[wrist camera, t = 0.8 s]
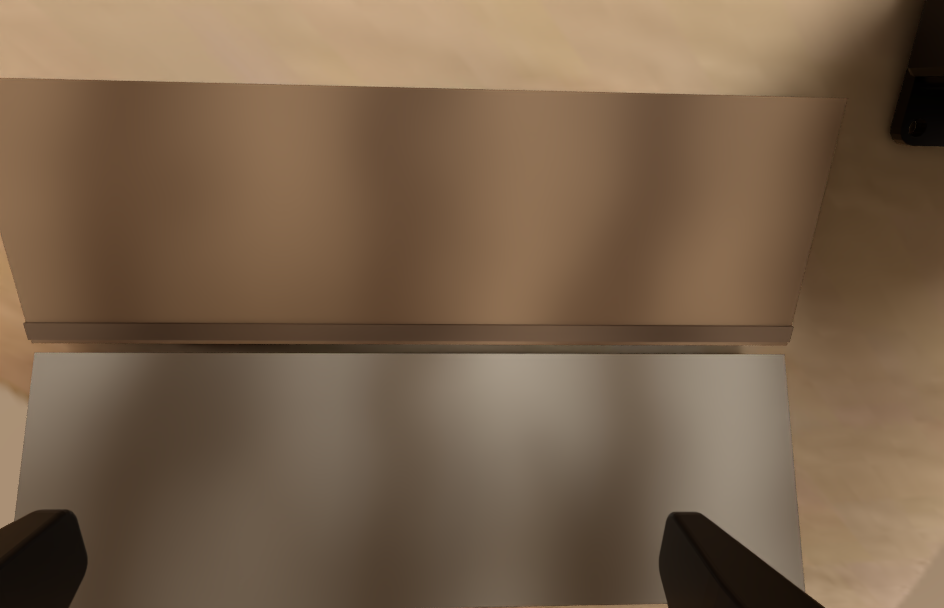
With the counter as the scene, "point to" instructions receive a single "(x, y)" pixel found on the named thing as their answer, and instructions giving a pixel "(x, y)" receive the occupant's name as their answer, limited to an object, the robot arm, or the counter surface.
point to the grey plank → (403, 474)
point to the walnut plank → (407, 213)
